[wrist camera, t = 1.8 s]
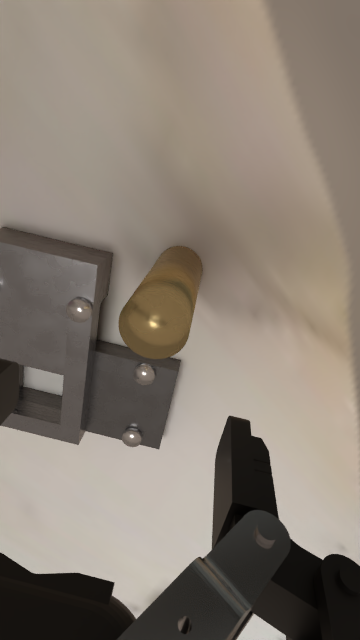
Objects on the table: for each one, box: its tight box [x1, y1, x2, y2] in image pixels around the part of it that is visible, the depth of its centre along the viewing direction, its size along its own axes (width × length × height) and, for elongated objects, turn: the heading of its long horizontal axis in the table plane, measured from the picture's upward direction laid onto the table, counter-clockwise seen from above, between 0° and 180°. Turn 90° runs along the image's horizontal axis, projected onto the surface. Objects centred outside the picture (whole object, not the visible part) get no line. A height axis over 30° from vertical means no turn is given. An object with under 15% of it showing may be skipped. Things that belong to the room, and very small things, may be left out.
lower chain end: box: [18, 340, 181, 449], centre depth 35 cm, size 18×10×3 cm, turn 78°
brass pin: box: [119, 246, 202, 359], centre depth 25 cm, size 4×4×12 cm
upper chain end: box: [0, 227, 113, 445], centre depth 32 cm, size 10×19×5 cm, turn 168°
